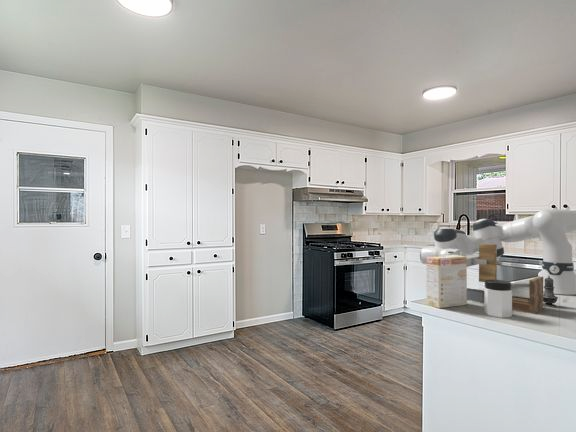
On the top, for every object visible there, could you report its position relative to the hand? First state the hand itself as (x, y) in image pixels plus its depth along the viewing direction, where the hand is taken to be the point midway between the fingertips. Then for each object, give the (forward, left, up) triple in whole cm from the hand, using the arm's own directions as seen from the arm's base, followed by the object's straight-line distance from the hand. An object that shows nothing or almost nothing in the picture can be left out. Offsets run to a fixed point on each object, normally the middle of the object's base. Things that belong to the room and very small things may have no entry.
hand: (488, 261), depth 152 cm
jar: (+20, +10, -17) cm, 28 cm away
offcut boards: (+4, +11, -16) cm, 20 cm away
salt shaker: (-10, +19, -17) cm, 27 cm away
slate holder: (-1, -6, -16) cm, 18 cm away
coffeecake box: (+19, -9, -17) cm, 27 cm away
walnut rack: (+3, +12, -16) cm, 20 cm away
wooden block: (0, 0, -9) cm, 9 cm away
